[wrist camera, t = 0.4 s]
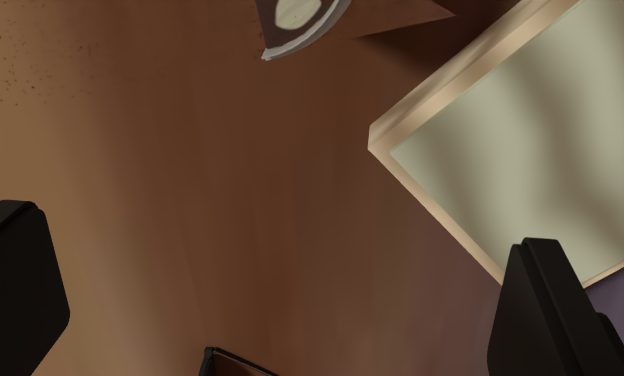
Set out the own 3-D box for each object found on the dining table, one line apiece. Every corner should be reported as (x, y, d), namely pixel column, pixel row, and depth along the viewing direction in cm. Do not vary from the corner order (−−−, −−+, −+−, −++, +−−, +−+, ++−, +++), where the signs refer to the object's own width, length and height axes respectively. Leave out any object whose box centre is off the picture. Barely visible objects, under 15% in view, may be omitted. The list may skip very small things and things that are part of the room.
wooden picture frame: (603, -71, 31) (637, -65, 27) (753, 143, 36) (803, 178, 31) (370, 123, 39) (367, 152, 34) (519, 278, 43) (533, 322, 39)
